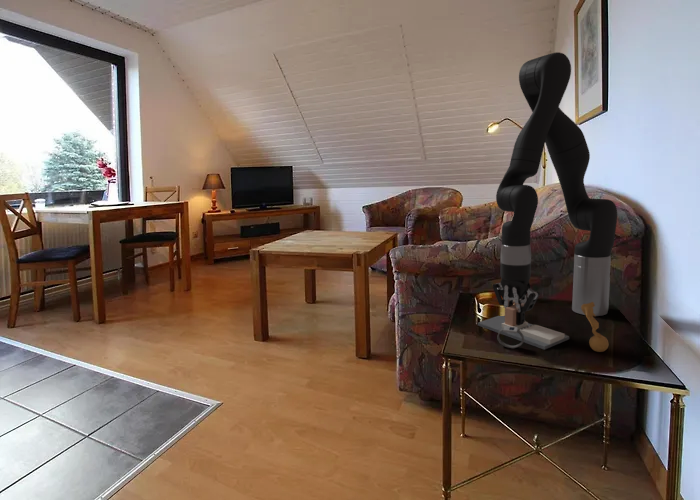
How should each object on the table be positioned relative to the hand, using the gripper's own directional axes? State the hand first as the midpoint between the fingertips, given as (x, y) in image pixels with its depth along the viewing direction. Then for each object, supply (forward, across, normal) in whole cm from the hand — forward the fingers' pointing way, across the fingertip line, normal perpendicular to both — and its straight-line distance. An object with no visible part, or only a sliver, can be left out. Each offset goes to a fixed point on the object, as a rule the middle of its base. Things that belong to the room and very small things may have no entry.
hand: (514, 322), depth 118 cm
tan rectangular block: (+2, 0, 0) cm, 2 cm away
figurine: (+2, -20, -3) cm, 20 cm away
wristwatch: (+2, -6, +10) cm, 12 cm away
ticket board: (+2, -2, 0) cm, 3 cm away
